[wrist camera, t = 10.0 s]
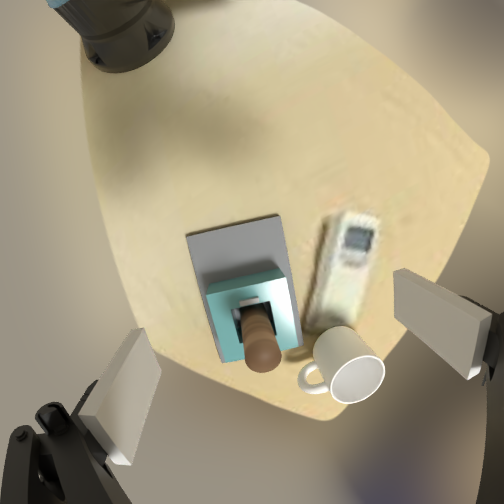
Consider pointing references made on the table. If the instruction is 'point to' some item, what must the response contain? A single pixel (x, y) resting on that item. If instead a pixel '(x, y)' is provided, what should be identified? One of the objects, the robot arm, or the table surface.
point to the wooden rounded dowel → (259, 339)
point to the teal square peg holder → (244, 294)
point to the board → (241, 261)
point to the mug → (343, 366)
